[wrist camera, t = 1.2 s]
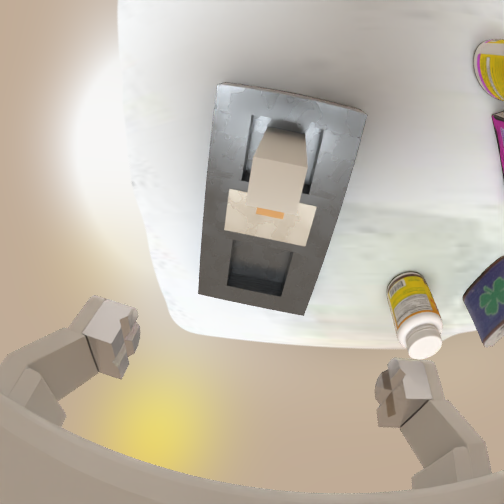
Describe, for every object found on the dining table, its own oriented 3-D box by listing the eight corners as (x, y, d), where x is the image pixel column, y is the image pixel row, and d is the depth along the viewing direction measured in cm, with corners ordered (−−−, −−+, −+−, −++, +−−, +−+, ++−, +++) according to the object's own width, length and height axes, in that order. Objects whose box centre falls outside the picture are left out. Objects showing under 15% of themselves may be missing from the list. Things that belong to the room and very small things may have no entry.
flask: (467, 304, 37) (492, 361, 28) (457, 295, 36) (483, 354, 28) (511, 261, 32) (546, 314, 23) (503, 250, 31) (540, 304, 23)
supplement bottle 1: (420, 301, 38) (440, 361, 29) (383, 304, 39) (396, 366, 30) (429, 268, 35) (455, 328, 26) (388, 270, 36) (407, 333, 27)
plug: (267, 126, 28) (253, 156, 20) (305, 134, 28) (307, 167, 20) (260, 169, 31) (243, 214, 22) (295, 176, 31) (293, 225, 22)
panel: (225, 82, 27) (217, 84, 24) (360, 109, 26) (367, 114, 24) (204, 278, 40) (198, 294, 38) (304, 299, 40) (303, 316, 37)
